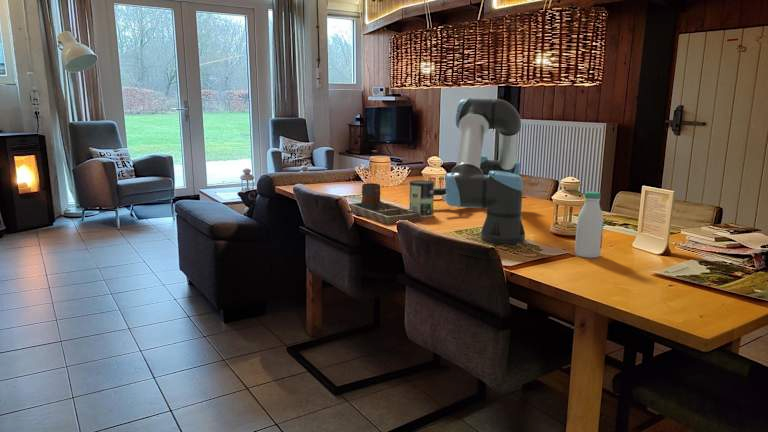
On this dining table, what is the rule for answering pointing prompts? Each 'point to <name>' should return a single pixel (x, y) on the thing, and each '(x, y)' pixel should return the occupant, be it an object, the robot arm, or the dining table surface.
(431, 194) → the coffee can
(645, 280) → the dining table surface
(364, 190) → the mug
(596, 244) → the milk bottle
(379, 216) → the caddy
